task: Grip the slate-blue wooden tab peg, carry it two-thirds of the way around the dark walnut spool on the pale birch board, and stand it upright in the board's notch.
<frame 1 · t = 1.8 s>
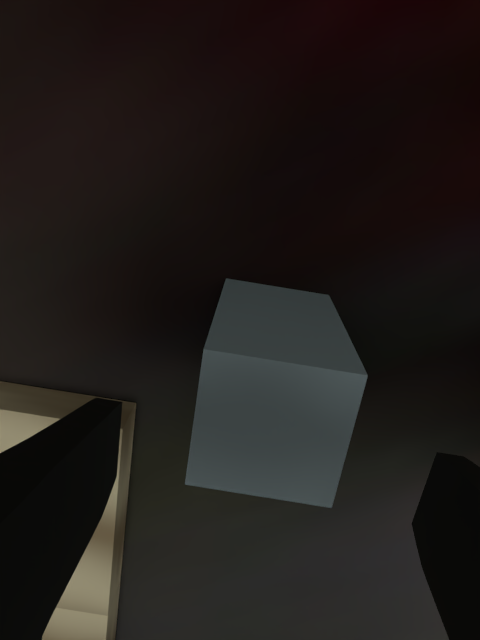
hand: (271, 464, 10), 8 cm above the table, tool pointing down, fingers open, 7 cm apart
tab peg: (268, 334, 18), on the table
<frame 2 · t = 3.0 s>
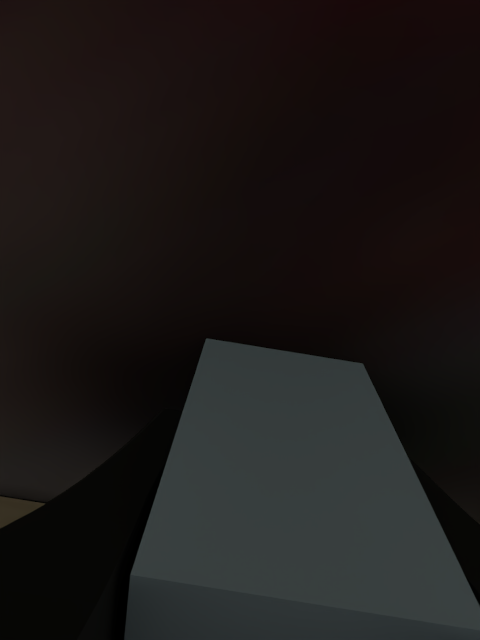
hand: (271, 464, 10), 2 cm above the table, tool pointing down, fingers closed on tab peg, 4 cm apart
tab peg: (270, 419, 12), on the table, touching gripper
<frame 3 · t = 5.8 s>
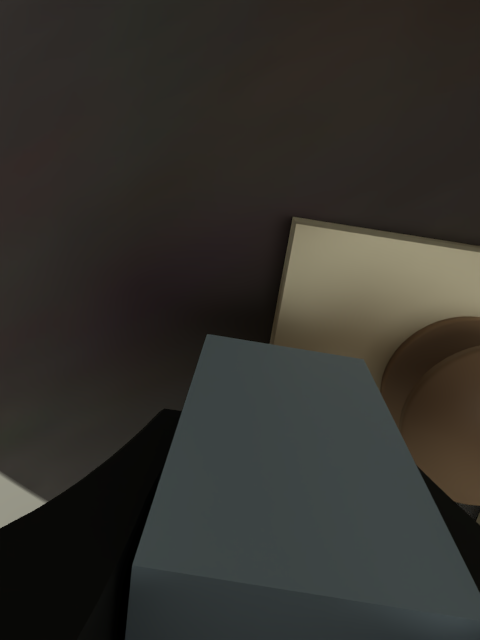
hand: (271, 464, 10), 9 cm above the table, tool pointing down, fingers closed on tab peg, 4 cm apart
tab peg: (271, 415, 12), point 7 cm above the table, touching gripper
notched board: (414, 436, 20), on the table
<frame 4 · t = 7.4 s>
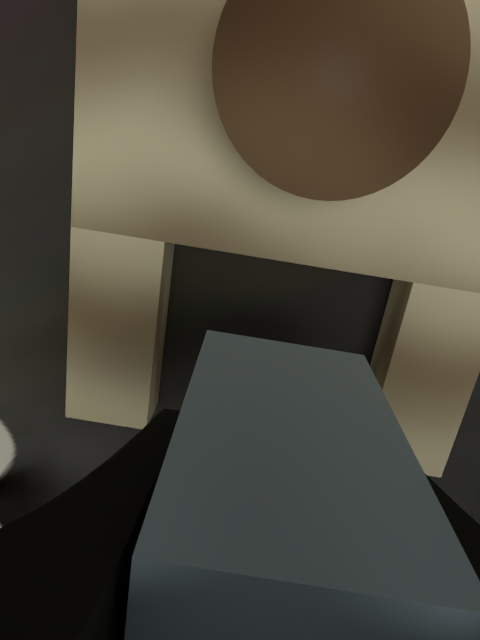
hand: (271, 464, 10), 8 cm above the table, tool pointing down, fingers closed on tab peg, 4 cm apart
tab peg: (271, 411, 12), point 6 cm above the table, touching gripper
notched board: (294, 208, 16), on the table
when the fingers open (3 cm above the table, at t = 8.8 s): tab peg stays where it is, on the table.
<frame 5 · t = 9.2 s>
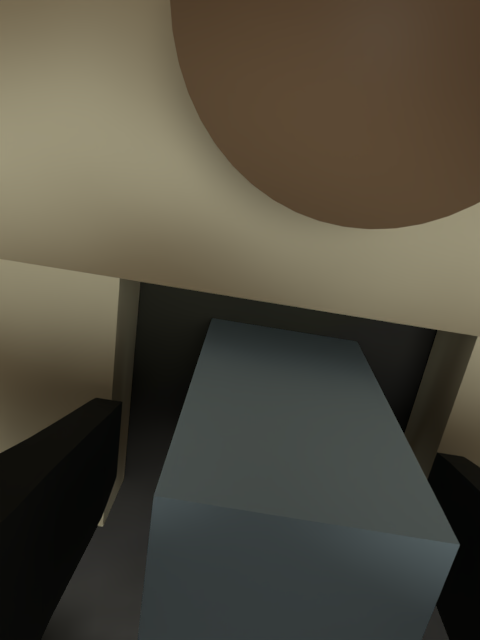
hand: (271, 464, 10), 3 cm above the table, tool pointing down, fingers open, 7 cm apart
tab peg: (271, 394, 13), on the table
notched board: (305, 226, 12), on the table
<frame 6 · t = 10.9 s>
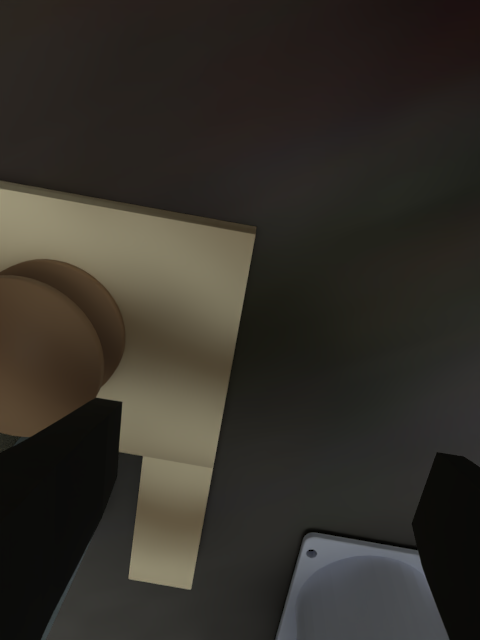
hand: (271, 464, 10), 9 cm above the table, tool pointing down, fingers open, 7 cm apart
tab peg: (66, 472, 22), on the table
notched board: (70, 386, 21), on the table
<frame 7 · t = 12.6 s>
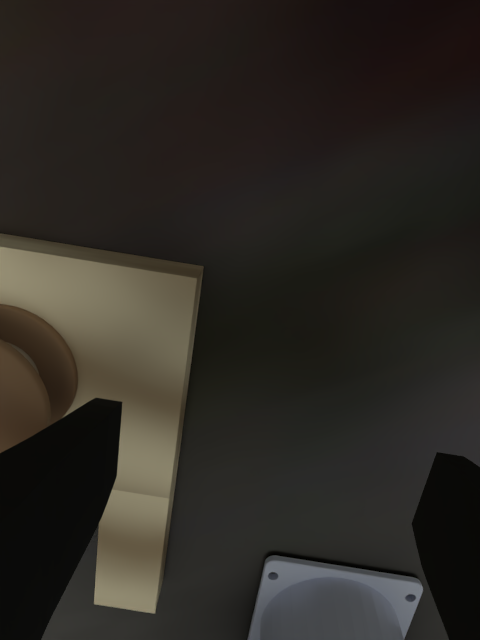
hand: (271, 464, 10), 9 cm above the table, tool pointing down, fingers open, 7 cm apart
notched board: (32, 419, 21), on the table
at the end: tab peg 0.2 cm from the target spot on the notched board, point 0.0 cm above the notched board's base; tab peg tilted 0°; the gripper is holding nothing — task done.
